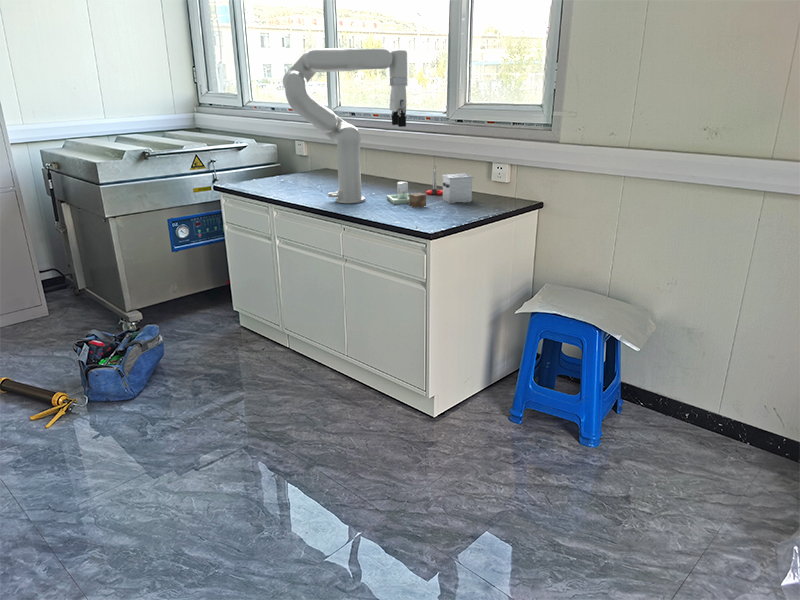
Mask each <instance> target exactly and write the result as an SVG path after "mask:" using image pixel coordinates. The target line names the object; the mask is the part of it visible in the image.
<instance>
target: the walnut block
mask: <svg viewBox="0 0 800 600" xmlns="http://www.w3.org/2000/svg"><path fill="white" fill-rule="evenodd" d="M408 194H409V204H408V205H409V207H411V206H412V207H411V208H414V207H415V208H414V209H418V208H417V207H420V208H425V207H424V206H426V207H427V193H421V192H413V193H408Z"/></svg>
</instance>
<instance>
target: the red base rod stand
mask: <svg viewBox="0 0 800 600" xmlns="http://www.w3.org/2000/svg"><path fill="white" fill-rule="evenodd" d="M433 167H434V168H433V169H434V170H433V183H432V189H428V190H425V191H426V192H425V194H426V196H427V195H428V196H429V195H431V196H443V189H437V186H438V185H437V166H436V165H434V166H433Z"/></svg>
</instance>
